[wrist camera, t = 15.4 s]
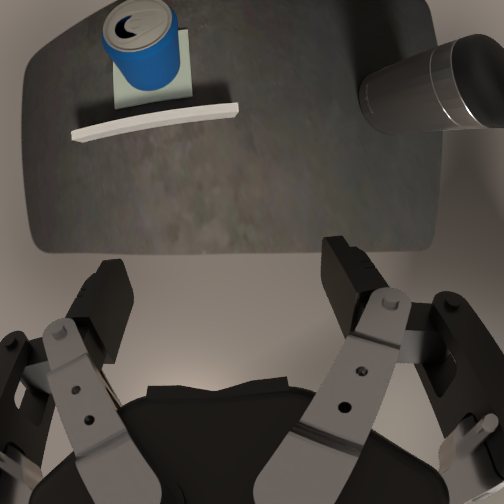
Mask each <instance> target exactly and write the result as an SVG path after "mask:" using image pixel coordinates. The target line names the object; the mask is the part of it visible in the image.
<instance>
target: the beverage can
mask: <svg viewBox="0 0 504 504" xmlns="http://www.w3.org/2000/svg"><path fill="white" fill-rule="evenodd" d="M102 43H103V47H104V49H105V50H106V52H107V53H108V55H109V56H110V57H111V59H112V60H113V62H114V63H115V65H116V66H117V67H118V69H119V70H120V72H121V73H122V75H123V76H124V77H125V79H126V80H127V82H128V83H129V84H130V85H131V86H132V87H134V88H136V89H138V90H142V91H154V90H158V89H161V88H163V87H165V86H167V85H168V84H169V83H170V82H172V81H173V79H174V78H175V77H176V75H177V74H178V72H179V69H180V50H179V36H178V21H177V17H176V14H175V13H174V11H173V10H172V9H171V8H170V7H169V6H168V5H167V4H166V3H165V2H163V1H162V0H127V1H125V2H123V3H121V4H120V5H118V6H117V7H116V8H114V9H113V10H112V11H111V12H110V14H109V15H108V17H107V18H106V20H105V23H104V26H103V32H102Z"/></svg>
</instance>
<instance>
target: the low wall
mask: <svg viewBox="0 0 504 504" xmlns="http://www.w3.org/2000/svg"><path fill="white" fill-rule="evenodd" d="M238 112H239V109H238V103H226V104H215V105H205V106H196V107H188V108H181V109H174V110H167V111H161V112H155V113H149V114H143V115H138V116H133V117H128V118H123V119H118V120H114V121H109V122H105V123H101V124H97V125H92V126H89V127H85V128H81V129H77V130H73V131H71V135H72V140H74V141H78V142H87V141H91V140H95V139H99V138H103V137H108V136H112V135H117V134H122V133H127V132H132V131H137V130H142V129H148V128H153V127H159V126H166V125H172V124H179V123H186V122H194V121H202V120H211V119H220V118H231V117H235V116H236V114H237V113H238Z"/></svg>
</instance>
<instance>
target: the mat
mask: <svg viewBox="0 0 504 504" xmlns="http://www.w3.org/2000/svg"><path fill="white" fill-rule="evenodd" d="M178 36H179V50H180V69H179V72H178V74H177V75H176V77H175V78H174V79H173V81H172V82H170V83H169V84H168V85H167V86H165V87H163V88H161V89H158V90H154V91H142V90H138V89H136V88H134V87H132V86H131V85H130V84H129V83H128V82H127V80H126V79H125V77H124V76H123V75H122V73H121V72H120V70H119V69H118V67H117V66H116V65H115V63H114V62H113V81H114V104H115V110H118V109H122V108H127V107H132V106H137V105H143V104H148V103H154V102H160V101H166V100H173V99H180V98H188V97H193V94H192V83H191V70H190V57H189V43H188V29H186V30H178Z"/></svg>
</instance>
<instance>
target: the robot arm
mask: <svg viewBox="0 0 504 504" xmlns="http://www.w3.org/2000/svg"><path fill="white" fill-rule="evenodd" d="M359 102H360V106H361V109H362V111H363V114H364V116H365V117H366V119H367V120H368V122H369V123H370V124H371V125H372V126H373V127H374V128H375V129H377V130H378V131H380V132H382V133H385V134H388V135H395V134H405V133H416V132H427V131H440V130H455V129H473V128H504V48H503V47H502V46H500V44H499V43H497V42H496V41H495V40H494V39H492V38H490V37H488V36H486V35H482V34H474V35H470V36H466V37H463V38H460V39H457V40H454V41H452V42H449V43H446V44H443V45H440V46H438V47H435V48H432V49H429V50H427V51H424V52H421V53H419V54H416V55H414V56H411V57H409V58H406V59H404V60H401V61H399V62H396V63H394V64H392V65H389V66H387V67H384V68H382V69H380V70H378V71H375V72H373V73H371V74H369V75H368V76H366V77H365V78H364V80H363V81H362V83H361V86H360V90H359ZM321 281H322V284H323V287H324V290H325V292H326V294H327V297H328V299H329V302H330V304H331V306H332V308H333V311H334V313H335V316H336V318H337V320H338V323H339V325H340V328H341V330H342V333H343V335H344V338H345V342H344V344H343V346H342V348H341V350H340V352H339V354H338V356H337V357H336V359H335V361H334V363H333V365H332V366H331V368H330V370H329V372H328V374H327V376H326V377H325V379H324V381H323V383H322V384H321V386H320V388H319V390H318V391H317V393H316V392H313V391H311V390H307V389H304V388H299V387H291V386H289V385H288V380H287V377H279V378H271V379H262V380H253V381H249V382H246V383H242V384H239V385H236V386H233V387H229V388H226V389H222V390H218V391H209V390H203V389H197V388H191V387H186V386H181V385H177V386H148V389H147V394H146V396H144V397H141V398H138V399H135V400H133V401H131V402H129V403H127V404H125V405H122V404H121V402H120V400H119V399H118V397H117V395H116V394H115V392H114V390H113V388H112V386H111V385H110V383H109V381H108V379H107V377H106V375H105V374H104V372H103V371H102V366H103V364H115V360H116V357H117V354H118V350H119V347H120V343H121V341H122V337H123V334H124V331H125V328H126V325H127V322H128V319H129V316H130V313H131V310H132V307H133V303H134V294H133V289H132V287H131V284H130V281H129V278H128V275H127V272H126V269H125V266H124V263H123V261H122V260H121V259H111V260H104V261H102V263H101V265H100V267H99V268H98V270H97V272H96V273H93V274H92V275H91V276H90V277H89V278H88V279H87V280H86V281H85V282H84V284H83V286H82V288H81V291H79V293H78V295H77V298H75V300H74V302H73V304H72V305H71V308H70V309H69V311H68V313H67V315H66V317H65V318H61V319H58V320H56V321H54V322H52V323H51V324H50V325H49V326H48V327H47V328H46V329H45V330H44V333H43V337H41V338H37V339H33V340H30V341H29V340H28V339H27V337H26V335H25V334H24V333H23V332H22V331H14V332H12V333H10V334H8V335H7V336H5V337H4V338H3V339H2V341H1V342H0V504H465V503H467V502H469V501H480V500H483V499H484V498H486V497H488V496H490V495H492V494H493V493H495V492H497V491H499V490H500V489H502V488H503V487H504V354H503V353H502V351H501V350H500V348H499V346H498V345H497V343H496V342H495V340H494V339H493V337H492V336H491V334H490V333H489V331H488V330H487V328H486V327H485V325H484V324H483V323H482V321H481V320H480V318H479V317H478V316H477V314H476V313H475V311H474V310H473V309H472V307H471V306H470V305H469V303H468V302H467V301H466V300H465V299H464V298H463V297H462V296H461V295H459V294H457V293H454V292H449V291H443V292H439V293H438V294H436V295H435V297H434V300H433V302H432V304H429V303H413V302H411V300H410V298H409V297H408V296H407V295H406V294H405V293H404V292H402V291H401V290H398V289H395V288H390V287H389V286H388V284H387V283H386V281H385V280H384V278H383V277H382V275H381V274H380V273H379V271H378V270H377V268H375V265H374V264H373V263H372V262H371V260H370V258H369V257H368V256H367V254H366V253H365V252H364V251H362V250H360V249H359V248H357V247H350V246H349V245H348V243H347V242H346V240H345V239H344V237H343V236H332V237H324V238H323V240H322V255H321ZM450 352H451V353H450ZM451 354H452V355H451ZM452 356H453V357H452ZM453 358H454V359H453ZM454 360H455V361H454ZM455 362H456V363H455ZM396 363H414V365H415V368H416V370H417V372H418V374H419V377H420V379H421V381H422V384H423V386H424V388H425V391H426V393H427V395H428V398H429V400H430V403H431V405H432V408H433V410H434V412H435V415H436V418H437V420H438V423H439V426H440V428H441V431H442V433H443V436H444V439H445V440H444V441H443V442H442V444H441V445H440V448H439V452H438V453H439V454H438V457H439V471H437V470H436V469H434V468H433V467H432V466H430V465H429V464H427V463H425V462H424V461H422V460H420V459H419V458H417V457H415V456H414V455H412V454H411V453H409V452H407V451H405V450H404V449H402V448H401V447H399V446H398V445H396V444H395V443H393V442H391V441H390V440H388V439H386V438H385V437H384V436H382V435H380V434H379V433H377V432H376V431H374V430H373V429H371V428H372V425H373V423H374V421H375V418H376V416H377V413H378V411H379V408H380V406H381V403H382V401H383V398H384V395H385V393H386V390H387V387H388V384H389V382H390V379H391V376H392V373H393V370H394V367H395V364H396ZM20 381H21V382H22V384H23V385H24V386H25V387H26V391H25V394H24V397H23V399H22V402H21V406H20V408H19V409H18V408H17V407H16V405H15V401H14V395H15V392H16V389H17V387H18V384H19V382H20ZM55 405H56V407H57V410H58V413H59V415H60V418H61V421H62V423H63V426H64V429H65V431H66V434H67V435H68V438H69V441H70V443H71V446H72V448H73V450H74V451H73V452H72V453H71V454H70V455H68V456H67V457H66V458H65V459H64V460H63V461H62V462H61V463H60V464H59V465H58V466H56V467H55V468H54V469H53V470H52V471H51V472H50V473H49V474H48V475H47V476H46V477H44V478H43V475H42V472H41V465H42V459H43V455H44V450H45V445H46V441H47V436H48V432H49V428H50V424H51V420H52V416H53V412H54V409H55Z"/></svg>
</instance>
